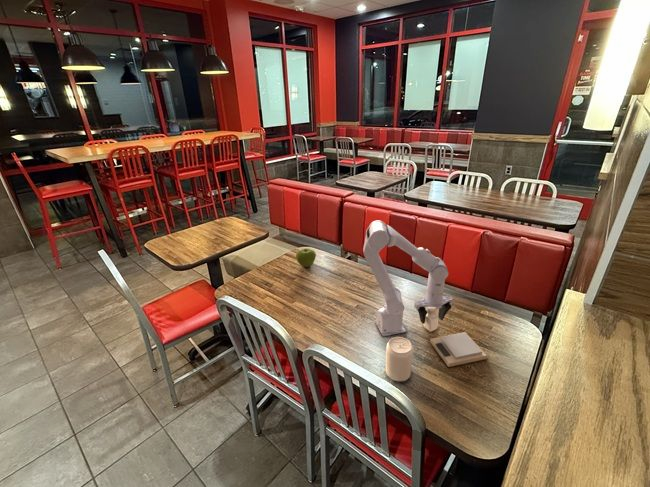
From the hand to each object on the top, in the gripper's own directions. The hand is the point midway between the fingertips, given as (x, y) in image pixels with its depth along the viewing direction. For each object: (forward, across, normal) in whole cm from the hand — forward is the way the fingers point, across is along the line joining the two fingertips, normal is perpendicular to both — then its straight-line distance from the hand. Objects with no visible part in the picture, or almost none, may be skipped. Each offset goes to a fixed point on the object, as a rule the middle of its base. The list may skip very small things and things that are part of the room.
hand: (431, 320), depth 119 cm
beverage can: (+4, -21, -17) cm, 27 cm away
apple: (+4, -39, +63) cm, 74 cm away
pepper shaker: (+4, 0, 0) cm, 4 cm away
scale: (+4, +3, -13) cm, 14 cm away
